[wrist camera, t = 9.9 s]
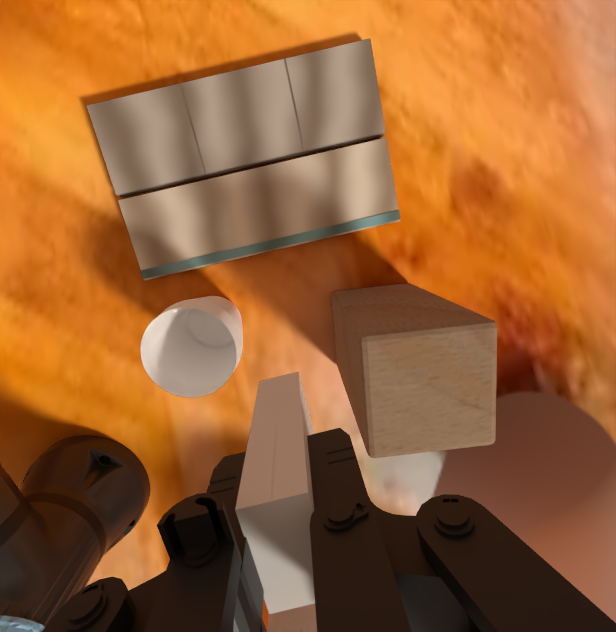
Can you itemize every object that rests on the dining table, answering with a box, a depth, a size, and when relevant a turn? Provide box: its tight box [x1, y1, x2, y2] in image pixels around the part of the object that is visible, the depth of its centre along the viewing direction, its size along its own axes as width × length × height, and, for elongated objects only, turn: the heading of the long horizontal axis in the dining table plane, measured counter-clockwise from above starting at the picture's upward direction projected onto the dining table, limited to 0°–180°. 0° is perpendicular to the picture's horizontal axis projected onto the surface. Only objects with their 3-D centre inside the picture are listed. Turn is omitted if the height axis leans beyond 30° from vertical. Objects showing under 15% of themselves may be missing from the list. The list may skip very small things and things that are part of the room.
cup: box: [141, 296, 243, 398], centre depth 40 cm, size 9×9×12 cm
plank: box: [118, 138, 400, 281], centre depth 42 cm, size 30×9×2 cm, turn 103°
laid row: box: [86, 39, 385, 197], centre depth 40 cm, size 30×9×2 cm, turn 103°
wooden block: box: [331, 283, 497, 458], centre depth 37 cm, size 10×10×20 cm
